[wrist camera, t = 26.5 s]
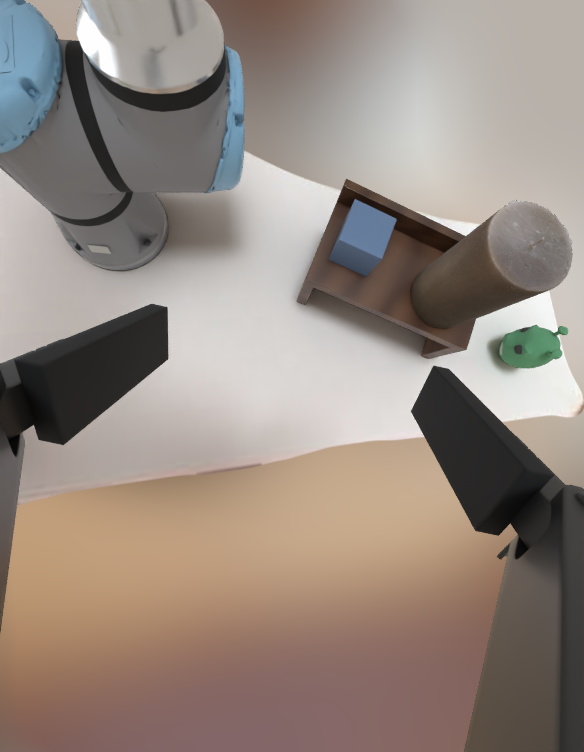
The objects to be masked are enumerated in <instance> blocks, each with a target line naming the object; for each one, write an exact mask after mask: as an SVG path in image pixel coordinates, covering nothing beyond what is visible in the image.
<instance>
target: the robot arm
mask: <svg viewBox="0 0 584 752" xmlns="http://www.w3.org/2000/svg"><path fill="white" fill-rule="evenodd" d="M76 31H77V37H78V39H79V41H72V40H60V39H58V36H57V34H56V32H55V30H54V29H53V27H52V25H51V24H50V23H49V22H48V21H47V20H46V19H45V18H44V17H43V15H42V14H41V13H40V12H39V11H38V10H37V9H36V8H35V7H34V6H33V5H31V4H30V3H26V2H25V1H24V0H0V168H1V169H3V170H4V171H5V172H6V173H7V174H8V175H9V176H10V177H12V178H13V179H14V180H15V181H16V182H17V183H18V184H20V185H21V186H22V187H23V188H24V189H25V190H26V191H27V192H29V193H30V194H31V195H32V196H33V197H34V198H35V199H37V200H38V201H39V202H40V203H41V204H42V205H43V206H45V207H46V208H47V209H48V210H49V211H50V212H51V213H52V215H53V217H54V219H55V221H56V222H57V224H58V226H59V228H60V230H61V232H62V234H63V235H64V237H65V239H66V240H67V242H68V243H69V244H70V246H71V247H72V248H73V249H74V250H75V251H76V252H77V253H78V254H80V255H81V256H82V257H83V258H85V259H86V260H87V261H89V262H90V263H92V264H94V265H96V266H98V267H101V268H104V269H109V270H118V271H120V270H130V269H134V268H137V267H140V266H142V265H144V264H146V263H148V262H149V261H151V260H152V259H153V258H154V257H156V256H157V255H158V253H159V252H160V251H161V249H162V248H163V246H164V244H165V242H166V239H167V235H168V220H167V216H166V213H165V210H164V208H163V206H162V204H161V202H160V200H159V199H158V197H157V196H156V194H155V193H154V192H200V193H211V192H212V191H221V190H230V189H233V188H234V187H236V186H237V184H238V183H239V181H240V178H241V174H242V168H243V158H244V123H243V121H244V88H243V75H242V67H241V61H240V58H239V55H238V53H237V52H236V51H235V50H232V49H230V48H229V47H227V46H225V45H224V36H223V30H222V27H221V24H220V22H219V19H218V17H217V15H216V14H215V12H214V11H213V9H212V8H211V7H210V6H209V4H208V3H207V2H206V1H205V0H81V3H80V6H79V10H78V13H77V19H76ZM166 360H168V310H167V307H164V306H159V305H155V304H150V305H148V306H145V307H143V308H140V309H138V310H135V311H133V312H130V313H128V314H125V315H123V316H120V317H118V318H116V319H113V320H111V321H108V322H106V323H103V324H101V325H98V326H96V327H93V328H91V329H88V330H86V331H83V332H81V333H78V334H76V335H74V336H71V337H69V338H66V339H61V340H58V341H56V342H53V343H51V344H48V345H47V346H43V347H41V348H38V349H36V351H31V352H28V353H26V354H23V355H21V356H18V357H16V358H13V359H11V360H8V361H6V362H3V363H1V364H0V631H1V623H2V616H3V608H4V600H5V593H6V585H7V577H8V569H9V562H10V554H11V546H12V538H13V530H14V524H15V515H16V508H17V500H18V493H19V485H20V477H21V470H22V462H23V454H24V447H25V440H24V437H23V434H22V432H23V431H25V430H26V429H28V428H29V427H31V426H32V425H34V426H35V429H36V433H37V436H38V439H39V440H42V441H47V442H51V443H56V444H61V445H64V444H65V443H67V442H68V441H69V440H70V439H71V438H73V437H74V436H75V435H76V434H77V433H79V432H80V431H81V430H82V429H84V428H85V427H86V426H87V425H88V424H90V423H91V422H92V421H93V420H95V419H96V418H97V417H98V416H99V415H101V414H102V413H103V412H104V411H106V410H107V409H108V408H109V407H110V406H112V405H113V404H114V403H115V402H116V401H118V400H119V399H120V398H121V397H123V396H124V395H125V394H126V393H127V392H129V391H130V390H131V389H132V388H134V387H135V386H136V385H137V384H138V383H140V382H141V381H142V380H143V379H145V378H146V377H147V376H148V375H149V374H151V373H152V372H153V371H154V370H155V369H157V368H158V367H159V366H160V365H162V364H163V363H164V362H165V361H166ZM411 412H412V414H413V416H414V418H415V420H416V422H417V423H418V425H419V427H420V429H421V431H422V433H423V435H424V436H425V438H426V440H427V442H428V444H429V446H430V447H431V449H432V451H433V453H434V455H435V457H436V459H437V461H438V462H439V464H440V466H441V468H442V470H443V472H444V474H445V475H446V477H447V479H448V481H449V483H450V485H451V487H452V488H453V490H454V492H455V494H456V496H457V498H458V500H459V501H460V503H461V505H462V507H463V509H464V510H465V513H466V514H467V516H468V518H469V520H470V522H471V524H472V526H473V527H474V529H475V531H479V532H484V533H488V534H493V535H498V536H499V535H500V534H501V533H502V531H503V530H504V529H505V528H506V527H507V526H508V525H509V524H510V523H511V525H512V526H513V528H514V529H515V531H516V532H517V534H518V535H517V536H516V537H515V538H514V539H513V540H512V541H511V542H510V543H509V544H508V545H507V546H506V547H505V548H504V549H503V550H502V551H501V552H500V553H499V554H498V556H497V557H498V558H499V559H502V558H503V557H504V556H507V560H506V565H505V569H504V574H503V578H502V583H501V587H500V592H499V596H498V601H497V605H496V610H495V615H494V619H493V623H492V628H491V632H490V637H489V641H488V646H487V650H486V655H485V659H484V664H483V668H482V672H481V677H480V682H479V686H478V690H477V695H476V700H475V704H474V709H473V713H472V717H471V722H470V726H469V731H468V736H467V740H466V744H465V749H464V752H584V489H583V488H581V487H577V486H573V485H565V484H564V483H563V482H562V481H561V480H560V479H559V478H558V477H557V476H556V475H555V474H554V473H553V472H552V471H551V470H550V469H549V468H548V467H547V466H546V465H545V464H544V463H543V462H542V461H541V460H540V459H539V458H537V457H536V455H535V454H534V453H533V452H532V451H531V450H530V449H528V447H527V446H526V445H525V444H524V443H523V442H522V441H521V440H520V439H519V438H518V437H517V436H515V435H514V434H513V433H512V432H511V431H510V430H509V429H508V428H507V427H506V426H505V425H504V424H503V423H502V422H501V421H500V420H499V419H498V418H497V417H496V416H495V415H494V414H493V413H492V412H491V411H490V410H489V409H488V408H487V407H486V406H485V405H484V404H483V403H482V402H481V401H480V400H479V399H478V398H477V397H476V396H475V395H474V394H473V393H472V392H471V391H470V390H469V389H468V388H467V387H466V386H465V385H464V384H463V383H462V382H461V381H460V380H459V379H458V378H457V377H456V376H455V375H454V374H453V373H452V372H451V371H450V370H449V369H447V368H442V367H437V366H433V368H432V370H431V372H430V374H429V376H428V378H427V380H426V382H425V384H424V386H423V388H422V390H421V392H420V394H419V396H418V398H417V400H416V402H415V404H414V406H413V408H412V410H411Z"/></svg>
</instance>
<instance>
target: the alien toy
mask: <svg viewBox="0 0 584 752" xmlns="http://www.w3.org/2000/svg"><path fill="white" fill-rule="evenodd" d="M558 334H562V335H567V334H568V329H567V328H566V327H563V326H560V327H559V328H558V332H555V333H553V332H552V331H550V330H547V329H545V328H539V327H538V326H537V325H534V326H532V327H526V328H522V329H519V330H516V331H514V332H512V333H508V334H506V335H505V337H504V340H503V341H502V342H501V343H500V346H499V354H500V357H501V358H502V360H503V361H504V362H506V363H507V364H509V365H511V366H514V367H517V368H534V367H538V366H542V365H544V364H546V363H548V362H550V361H551V360H553V359H558V358H560V357H561V356H562V351H561V350H560V341H559V338H558V337H557V336H556V335H558Z"/></svg>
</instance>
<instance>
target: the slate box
mask: <svg viewBox="0 0 584 752" xmlns="http://www.w3.org/2000/svg"><path fill="white" fill-rule="evenodd" d="M396 220H397V219H396V218H394V217H391V216H389V215H387V214H385V213H383V212H381V211H379V210H377V209H375V208H373V207H371V206H368V205H366V204H364V203H362V202H360V201H358V200H356V199H355V200H354V202H353V204H352V206H351V208H350V210H349V212H348V214H347V216H346V218H345V221H344V223H343V225H342V227H341V230H340V232H339V235H338V237H337V240H336V242H335V245H334V247H333V250H332V252H331V255H330V257H329V260H331V261H333V262H335V263H337V264H339V265H342V266H344V267H346V268H348V269H350V270H353V271H355V272H357V273H359V274H362V275H364V276H367V275H368V274H369V273H370V272H371V271H372V270H373V269H374V267H375V266H376V265H377V264H378V263H379V262H380V261H381V260H382V258H383V255H384V252H385V250H386V247H387V244H388V241H389V239H390V236H391V233H392V231H393V228H394V225H395V223H396Z"/></svg>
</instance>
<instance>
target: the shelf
mask: <svg viewBox="0 0 584 752" xmlns="http://www.w3.org/2000/svg"><path fill="white" fill-rule="evenodd" d="M355 199H356V200H358V201H360V202H362V203H364V204H366V205H368V206H371V207H373V208H375V209H377V210H379V211H381V212H383V213H385V214H387V215H389V216H391V217H394V218H396V219H397V220H396V223H395V225H394V228H393V231H392V233H391V236H390V239H389V241H388V244H387V247H386V250H385V252H384V255H383V258H382V260H381V261H380V262H379V263H378V264H377V265H376V266H375V267H374V269H373V270H372V271H371V272H370V273H369V274H368V275H367V276H364V275H362V274H359V273H357V272H355V271H353V270H350V269H348V268H346V267H344V266H342V265H339V264H337V263H335V262H333V261H331V260H329V257H330V255H331V252H332V250H333V247H334V245H335V242H336V240H337V237H338V235H339V232H340V230H341V227H342V225H343V223H344V221H345V218H346V216H347V214H348V212H349V210H350V208H351V206H352V204H353V202H354V200H355ZM465 237H466V236H464V235H462V234H460V233H458V232H456V231H454V230H451V229H449V228H447V227H445V226H443V225H441V224H439V223H437V222H435V221H433V220H431V219H429V218H427V217H425V216H423V215H420V214H418V213H416V212H414V211H412V210H410V209H408V208H406V207H404V206H402V205H400V204H397V203H396V202H393V201H391V200H389V199H387V198H385V197H383V196H381V195H379V194H377V193H375V192H373V191H371V190H368V189H367V188H364V187H362V186H360V185H358V184H356V183H354V182H352V181H350V180H348V179H346V181H345V183H344V186H343V188H342V190H341V193H340V195H339V198H338V200H337V203H336V205H335V208H334V210H333V213H332V215H331V218H330V220H329V223H328V225H327V227H326V230H325V232H324V235H323V237H322V240H321V242H320V245H319V247H318V249H317V252H316V254H315V257H314V259H313V262H312V264H311V267H310V269H309V272H308V274H307V276H306V279H305V281H304V284H303V286H302V289H301V291H300V294H299V296H298V299H297V302H299V303H301V304H304V305H305V304H306V302H307V300H308V298H309V296H310V294H311V292H312V290H313V288H316V289H318V290H320V291H323V292H325V293H327V294H329V295H332V296H334V297H336V298H338V299H341V300H343V301H345V302H348V303H350V304H352V305H354V306H357V307H359V308H361V309H363V310H366V311H368V312H370V313H372V314H375V315H377V316H379V317H382V318H384V319H386V320H388V321H391V322H393V323H395V324H397V325H400V326H402V327H404V328H407V329H409V330H411V331H413V332H416V333H418V334H420V335H422V336H425V337H427V340H426V343H425V346H424V349H423V352H422V355H421V356H424V357H426V358H428V359H430V358H434V357H438V356H442V355H447V354H451V353H455V352H459V351H463V350H466V349H467V346H468V343H469V340H470V336H471V333H472V330H473V327H474V324H475V320H476V319H474V320H471V321H468V322H466V323H463V324H461V325H458V326H455V327H452V328H448V329H443V328H434V327H432V326H430V325H428V324H427V323H425V322H424V321H422V320H421V319H420V318H419V316H418V314H416V312H415V310H414V308H413V305H412V302H411V290H412V285H413V282H414V280H415V279H416V277H417V276H418V275H419V274H420V273H421V272H422V271H423V270H424V269H425V268H426V267H427V266H429V265H430V264H431V263H432V262H434V261H435V260H437V259H438V258H439V257H440V256H442V255H443V254H444V253H445V252H446V251H448V250H449V249H450V248H452V247H453V246H454V245H456V244H457V243H458V242H460V241H461V240H462V239H463V238H465Z"/></svg>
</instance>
